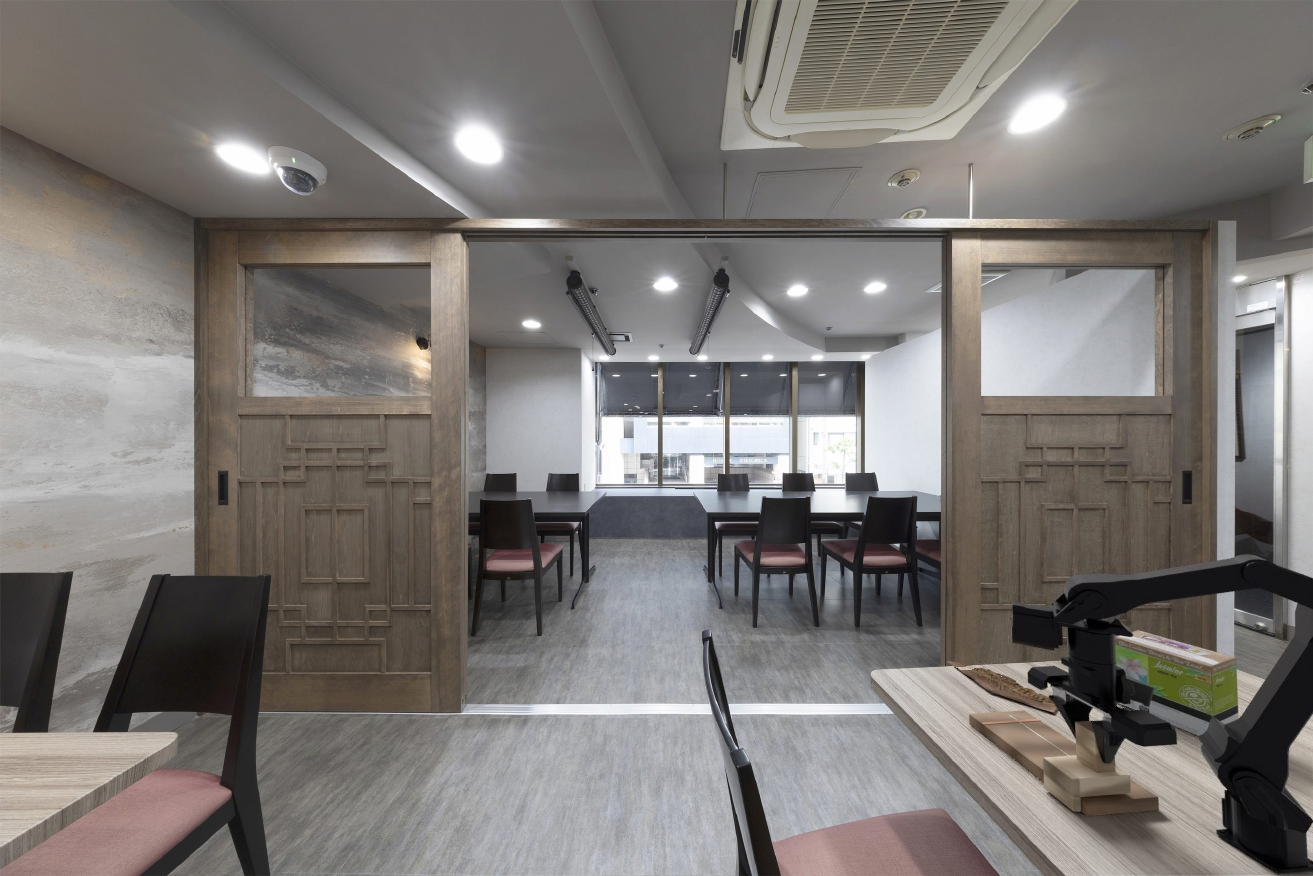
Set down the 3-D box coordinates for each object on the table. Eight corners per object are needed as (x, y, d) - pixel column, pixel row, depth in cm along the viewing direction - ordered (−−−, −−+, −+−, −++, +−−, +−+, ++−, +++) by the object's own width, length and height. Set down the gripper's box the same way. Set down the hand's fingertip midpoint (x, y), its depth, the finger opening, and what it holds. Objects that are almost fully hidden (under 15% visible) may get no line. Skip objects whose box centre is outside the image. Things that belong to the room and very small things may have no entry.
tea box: (1113, 704, 101) (1110, 635, 102) (1139, 694, 105) (1136, 628, 105) (1215, 744, 87) (1211, 664, 87) (1241, 732, 91) (1237, 655, 91)
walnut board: (1159, 810, 72) (1158, 796, 72) (1086, 816, 71) (1086, 802, 71) (1024, 720, 96) (1024, 710, 96) (969, 723, 95) (969, 713, 95)
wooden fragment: (1076, 712, 99) (1075, 707, 99) (1035, 720, 96) (1035, 714, 96) (968, 660, 124) (968, 656, 124) (934, 665, 121) (934, 661, 121)
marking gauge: (1131, 807, 72) (1128, 735, 72) (1073, 811, 71) (1070, 739, 71) (1098, 784, 77) (1095, 717, 77) (1044, 788, 76) (1041, 720, 76)
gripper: (1209, 683, 66) (1215, 795, 66) (1080, 632, 85) (1084, 719, 84) (1137, 687, 65) (1142, 800, 65) (1023, 634, 84) (1026, 722, 83)
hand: (1095, 755), depth 74 cm, fingers closed on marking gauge, 3 cm apart
